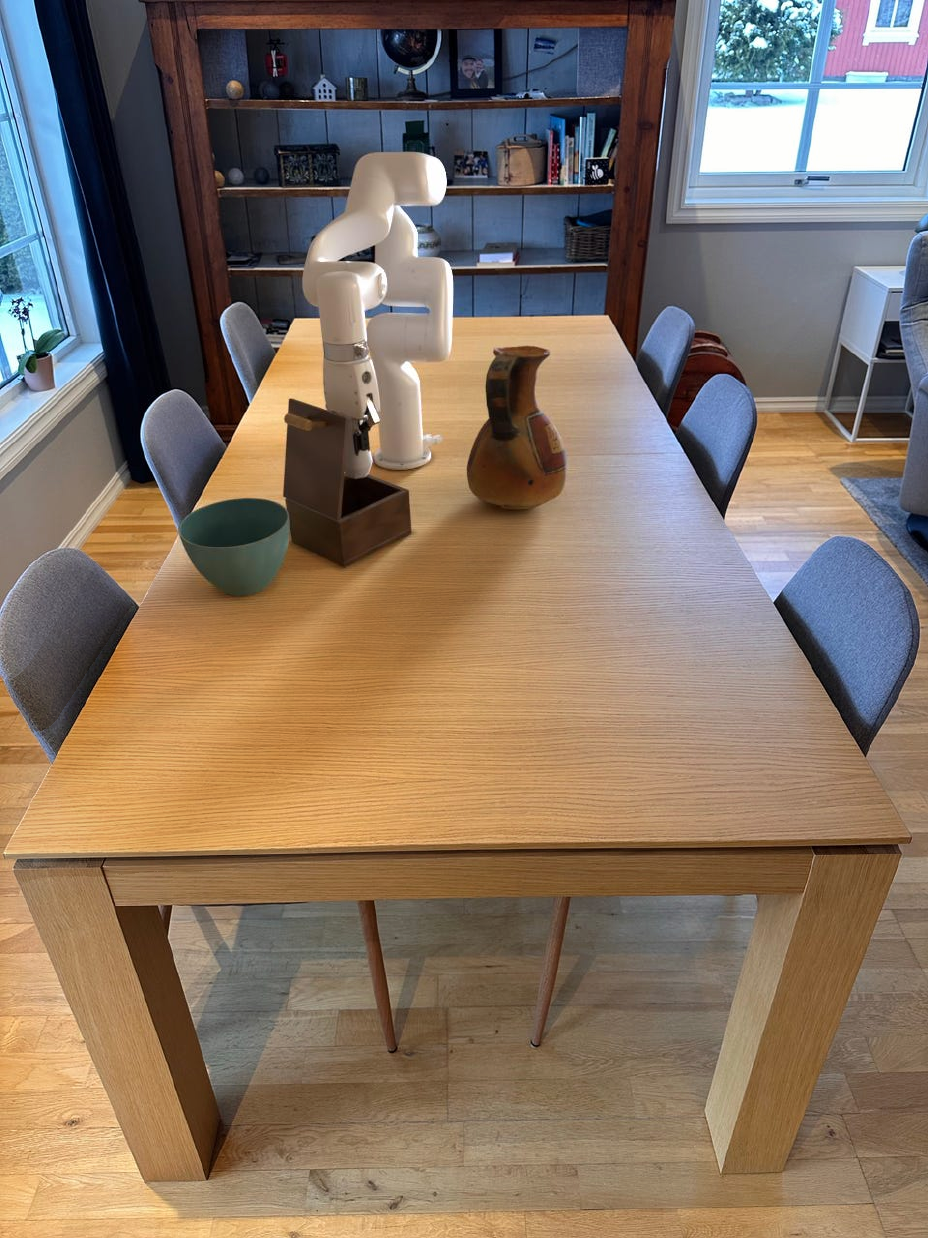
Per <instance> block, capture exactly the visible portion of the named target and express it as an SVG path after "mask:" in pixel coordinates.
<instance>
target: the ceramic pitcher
mask: <svg viewBox="0 0 928 1238" xmlns="http://www.w3.org/2000/svg"><path fill="white" fill-rule="evenodd" d="M492 354H493V355H494V358H493V359H492V361H491V363H490V364H489V367H488V370H487V373H486V377H485V378H486V379H485V389H484V390H485V400H486V408H487V412H488V413H487V415H488V419H487V420H486V421H485V422H484V423H483V424H482V426H481V428H480V429H479V431H478V433H477V435H476V437H475V439H474V441H473V444H472V446H471V449H470V452H469V456H468V458H467V459H468V460H467V464H466V479H467V484H468V488H469V490H470V491H471V493H472V494H473V495H474V496H475V497H476V498H477V499H479V500H481V501H484V502H486V503H489V504H492V505H496V506H500V508H502V509H506V510H507V509H508V510H529V509H533V508H537V507H540V506H542V505H543V504H546V503H548V502H551V501H552V500H554V499H556V498H557V497H559V496H560V495H561V494H562V491H563V490H564V488H565V485H566V480H567V475H568V474H567V472H568V461H567V459H568V458H567V454H566V450H565V444H564V442H563V439H562V437H561V435H560V433H559V431H558V429H557V427H556V426H555V424H554V422H553V421H552V420H551V418H550V417H549V416H548V415H547V414H546V413H545V412H543V411H542V410H541V409H540V408H539V406H538V402H537V398H536V384H537V383H536V382H537V377H538V376H537V375H538V369H539V367H540V366H541V364H542V363H543V362H544V361H545V360H546V359H547V358H548V357H549V356H550V355H551V351H550V349H546V348H544V347H539V346H534V345H519V346H504V347H495V348H494V347H493V351H492Z"/></svg>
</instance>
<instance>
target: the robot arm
mask: <svg viewBox="0 0 928 1238" xmlns="http://www.w3.org/2000/svg"><path fill="white" fill-rule="evenodd" d="M446 189H447V175H446V170H445V167H444V165H443V163H442V161H441V160H440V159H439V158H437V157H435V156H432V155H429V154H428V153H423V152H418V151H379V152H378V151H377V152H375V151H374V152H370V153H367V154H365V155H363V156H361V157H360V158H359V159H358V161H357V162H356V164H355V166H354V170H353V174H352V179H351V182H350V187H349V190H348V195H347V198H346V199H347V200H346V203H345V208H344V212H343V213H342V214H340V215H339V216H337V217H336V218H334V219H333V220H332V221H330V222H329V223H328V224H327V225H326V226H325V227H324V228H323V229H322V230H320V231H319V232H318V233H317V234H316V236H315V237H314V238H313V240H312V241H311V242H310V245H309V248H308V251H307V255H306V259H305V263H304V266H303V273H302V279H301V281H302V283H301V284H302V285H301V287H302V292H303V296H304V298H305V300H306V301H307V302H308V303H309V304H310V305H312V306H314V307H316V308H318V315H319V322H320V333H321V340H322V349H323V360H322V386H323V395H324V402H325V404H324V405H325V410H328V411H331V412H334V413H337V414H339V413H340V412H341V413H344V414H345V415H347V416H349V417H352V418H353V423H354V430H355V434H354V435H353V442H354V450H355V454H356V455H357V456H358V454H359V451H360V450H362V451H366V450H368V452H369V451H370V452H371V446H370V435H369V432H371V429H372V428H373V426H376V425H377V427H378V438H379V440H378V441H379V449H377V450H376V451H375V452H374V453H373V462H374V463H375V464H376V465H377V466H379V467H380V468H383V469H386V470H393V471H404V470H407V471H408V470H413V469H416V468H420V467H422V466H424V465H426V464H428V463H429V462H430V460H431V458H432V451H431V450H430V448H432V446H436V445H440V444H442V443H443V442H444V439H443V437H442V434H437V435H434V436H432V434H431V433H427V434H424V433H423V432H424V431H423V416H422V397H421V383H420V382H421V381H420V378H419V376H418V373H417V372H416V370H415V368H414V367H413V366H412V365H411V363H441V362H444V361H446V360H447V359H448V358H449V357H450V354H451V351H452V344H453V343H452V341H453V315H454V314H453V312H454V311H453V310H454V309H453V308H454V307H453V306H454V279H453V278H454V277H453V271H452V268H451V266H450V263H448V261H447V260H446V259H444V258H441V257H437V256H435V257H434V256H418V231H417V228H416V226H415V224H414V223H413V221H412V219H411V218H410V217H409V216H408V214H407V213H406V212H405V211H404V210H403V208H402V207H435V206H438V205H439V204H440V203H442V201H443V199H444V197H445V194H446ZM373 246H374V262H371V261H370V262H369V261H345V260H343V261H341V259H343V258H345V257H347V256H350V255H352V254H356V253H358V252H362V251H365V250H367V249H370V248H371V247H373ZM380 304H383V305H385V306H389V307H390V306H391V307H402V308H403V307H405V308H407V307H408V308H409V307H410V308H427V309H428V310H429V313H414V312H413V313H411V312H384V313H380V314H376V315H374V316H372V317H371V319H370V320H369V321H368V323H366V315H365V314H366V313H365V312H366V311H368V310H372V309H375V308H376V307H378V306H379V305H380ZM366 324H367V325H366ZM369 355H370V357H369ZM360 420H361V421H362V424H361V425H360ZM423 434H424V435H423Z"/></svg>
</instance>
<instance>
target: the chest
mask: <svg viewBox="0 0 928 1238" xmlns="http://www.w3.org/2000/svg"><path fill="white" fill-rule="evenodd" d="M284 501H285V508H286V509H287V511H288V513H289V521H290V533H289V536H290V541H291V543H292V544H294V545H296V546H298V547H301V548H303V549H304V550H307V551H309V552H311V553H313V554H315V555H318V556H319V557H322V558H323V559H325V560H327V561H329V562H332V563H334V564H336V565H338V566H340V567H342V568H346V567H349V566H350V565H353V564H354V563H356V562H359V561H360V560H362V559H364V558H366V557H368V556H369V555H372V554H374V553H375V552H378V551H380V550H382V549H384V548H386V547H387V546H390V545H391V544H394V543H395V542H397V541H399V540H401V539H403V538H406V537H408V536H410V535H411V534H413V533H412V532H413V531H412V519H411V517H412V516H411V504H410V503H411V501H410V490H409V489H408V488H405V487H402V486H399V485H397V484H395V483H393V482H390V481H387V480H384V479H381V478H379V477H376V476H374V475H371V474H368V475H367V476H366V477H363V478H357V479H354V478H350V477H347V475H346V473H345V475H344V486H343V498H342V510H341V520H338V521H337V520H335V519H333V518H330V517H328V516H326V515H323V514H321V513H319V512H317V511H314V510H312V509H310V508H307V507H305V506H303V505H301V504H298V503H296V502H294V501H292V500H289V499H287V498H284Z"/></svg>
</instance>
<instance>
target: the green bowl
mask: <svg viewBox="0 0 928 1238" xmlns="http://www.w3.org/2000/svg"><path fill="white" fill-rule="evenodd" d="M177 531H178V535H179V539H180V541H181V544H182V546H183V548H184V551H185V553H186V555H187V556H188V558H189V560H190V562H191V564H193V566H194V567H195V569H196V570H197V571H198V572H199V574H200V575H201V576H202V577H203V578H204V579H205V580H206V581H208V582H209V583H210V585H212V586H214V587H215V588H217V589H219V591H222V592H223V593H225V594H227V595H229V596H235V597H246V596H252V595H254V594H258V593H260V592H262V591H264V590H265V589H266V588H267V587H269V585H270V584H272V582H273V580H275V578H276V576H277V575H278V573H279V572H280V570H281V568H282V566H283V563H284V561H285V558H286V555H287V553H288V552H287V551H288V547H289V542H290V521H289V513H288V511H287V508H286V506H284V505H282V504H280V503H279V502H277V501H274V500H270V499H265V498H259V497H240V498H239V497H238V498H232V499H226V500H225V499H224V500H220V501H217V502H213V503H209V504H207V505H205V506H201V507H199V508H197V509H195V510H194V511H191V512H190V513H188V515H186V516H185V517H184V518H183V519H182V520H181V521H180V523H179V525H178V529H177Z"/></svg>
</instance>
